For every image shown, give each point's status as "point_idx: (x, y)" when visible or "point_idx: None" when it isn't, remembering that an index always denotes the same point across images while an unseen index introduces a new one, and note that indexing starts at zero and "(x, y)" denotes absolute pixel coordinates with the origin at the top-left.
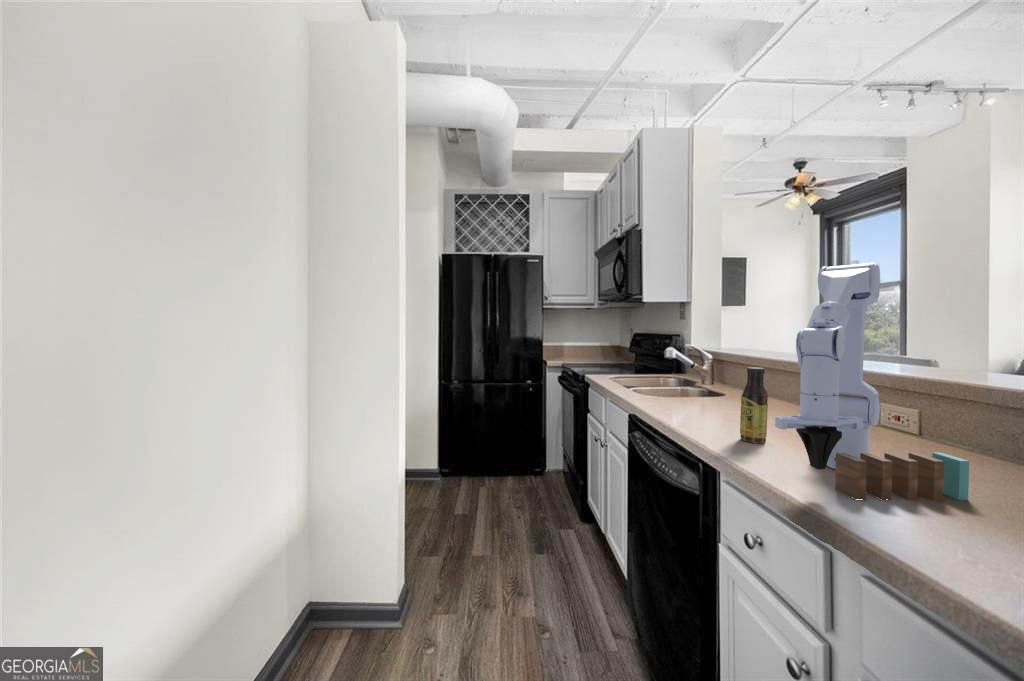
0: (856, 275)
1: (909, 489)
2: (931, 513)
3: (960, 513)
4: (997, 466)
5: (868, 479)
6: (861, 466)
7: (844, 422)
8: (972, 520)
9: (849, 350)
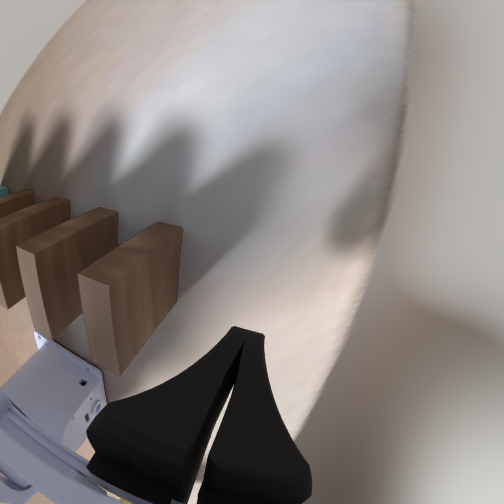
0: None
1: (48, 207)
2: (82, 124)
3: (41, 125)
4: None
5: None
6: (106, 269)
7: (35, 470)
8: (50, 91)
9: None
